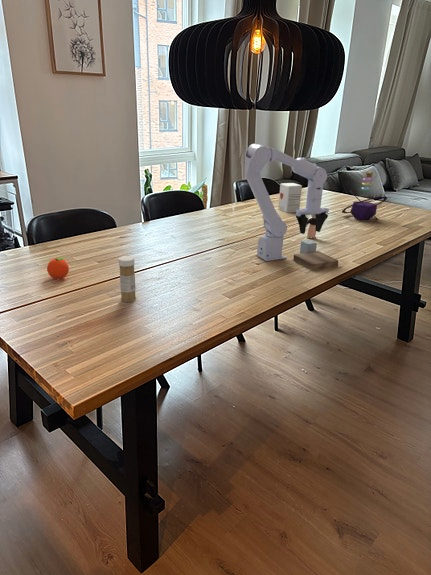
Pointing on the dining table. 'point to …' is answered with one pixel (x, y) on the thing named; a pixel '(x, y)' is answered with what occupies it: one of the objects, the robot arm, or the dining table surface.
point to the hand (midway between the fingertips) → (310, 232)
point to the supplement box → (289, 197)
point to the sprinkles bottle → (127, 278)
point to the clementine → (58, 268)
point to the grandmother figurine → (311, 227)
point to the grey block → (308, 246)
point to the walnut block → (315, 260)
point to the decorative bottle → (364, 203)
